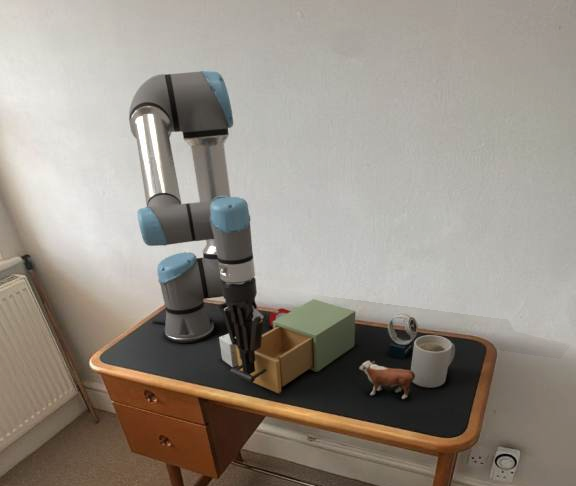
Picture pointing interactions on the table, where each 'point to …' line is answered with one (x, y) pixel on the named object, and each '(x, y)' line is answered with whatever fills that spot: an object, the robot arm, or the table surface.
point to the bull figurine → (388, 377)
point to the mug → (431, 360)
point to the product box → (228, 351)
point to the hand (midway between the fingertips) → (249, 372)
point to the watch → (402, 345)
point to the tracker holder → (277, 315)
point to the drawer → (279, 359)
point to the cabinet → (322, 329)
